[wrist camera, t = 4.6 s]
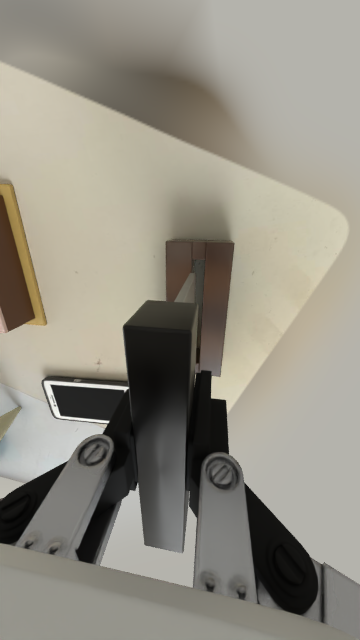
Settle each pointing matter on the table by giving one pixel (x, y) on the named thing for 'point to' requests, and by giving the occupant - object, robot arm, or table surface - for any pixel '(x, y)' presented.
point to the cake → (16, 269)
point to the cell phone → (83, 398)
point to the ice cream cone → (7, 421)
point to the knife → (163, 410)
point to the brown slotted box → (204, 292)
